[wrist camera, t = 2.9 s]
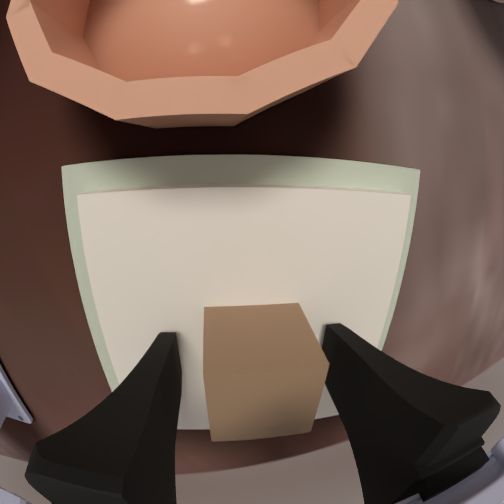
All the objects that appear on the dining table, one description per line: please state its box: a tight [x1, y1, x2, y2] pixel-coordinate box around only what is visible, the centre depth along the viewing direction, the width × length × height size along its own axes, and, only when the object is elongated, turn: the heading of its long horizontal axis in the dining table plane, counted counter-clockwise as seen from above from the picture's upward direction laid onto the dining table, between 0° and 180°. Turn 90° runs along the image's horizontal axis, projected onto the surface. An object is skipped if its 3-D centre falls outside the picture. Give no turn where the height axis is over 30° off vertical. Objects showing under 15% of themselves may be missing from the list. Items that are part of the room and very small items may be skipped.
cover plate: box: [77, 184, 411, 442], centre depth 10 cm, size 12×12×4 cm
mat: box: [62, 154, 420, 392], centre depth 12 cm, size 14×14×1 cm
